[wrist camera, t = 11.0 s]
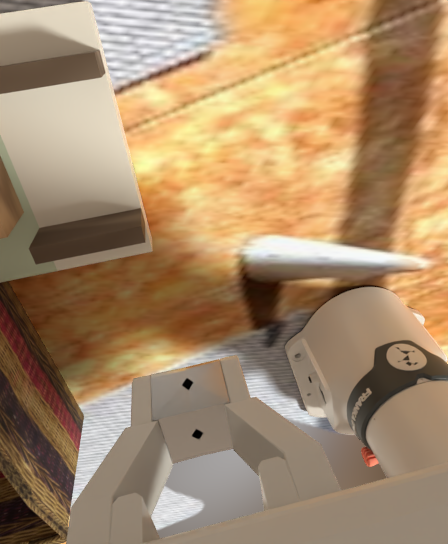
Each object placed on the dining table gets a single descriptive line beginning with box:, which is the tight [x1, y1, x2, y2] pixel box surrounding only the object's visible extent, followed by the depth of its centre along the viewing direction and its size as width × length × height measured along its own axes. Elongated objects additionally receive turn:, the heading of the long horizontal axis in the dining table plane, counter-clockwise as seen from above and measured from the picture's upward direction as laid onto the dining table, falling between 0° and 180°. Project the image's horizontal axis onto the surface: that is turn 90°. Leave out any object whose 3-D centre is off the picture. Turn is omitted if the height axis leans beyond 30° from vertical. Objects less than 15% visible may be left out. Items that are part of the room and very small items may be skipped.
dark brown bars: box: [0, 50, 146, 264], centre depth 31 cm, size 14×9×4 cm, turn 8°
